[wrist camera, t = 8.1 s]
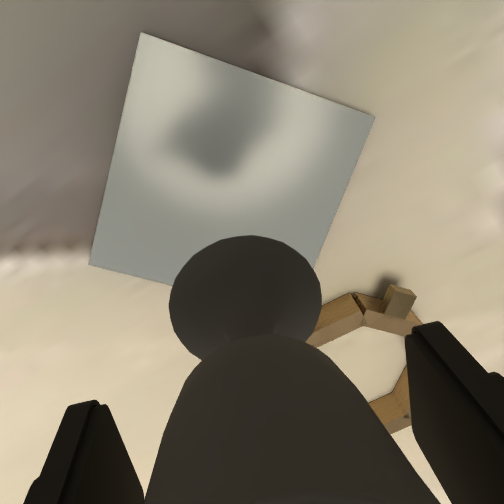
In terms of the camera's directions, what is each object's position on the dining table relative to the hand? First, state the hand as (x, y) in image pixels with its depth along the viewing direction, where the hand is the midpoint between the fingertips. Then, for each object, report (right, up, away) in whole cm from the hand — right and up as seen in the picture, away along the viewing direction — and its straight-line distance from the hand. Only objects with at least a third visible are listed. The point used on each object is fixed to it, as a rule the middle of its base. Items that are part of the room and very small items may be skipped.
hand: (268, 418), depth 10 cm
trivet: (-2, +8, +19) cm, 20 cm away
